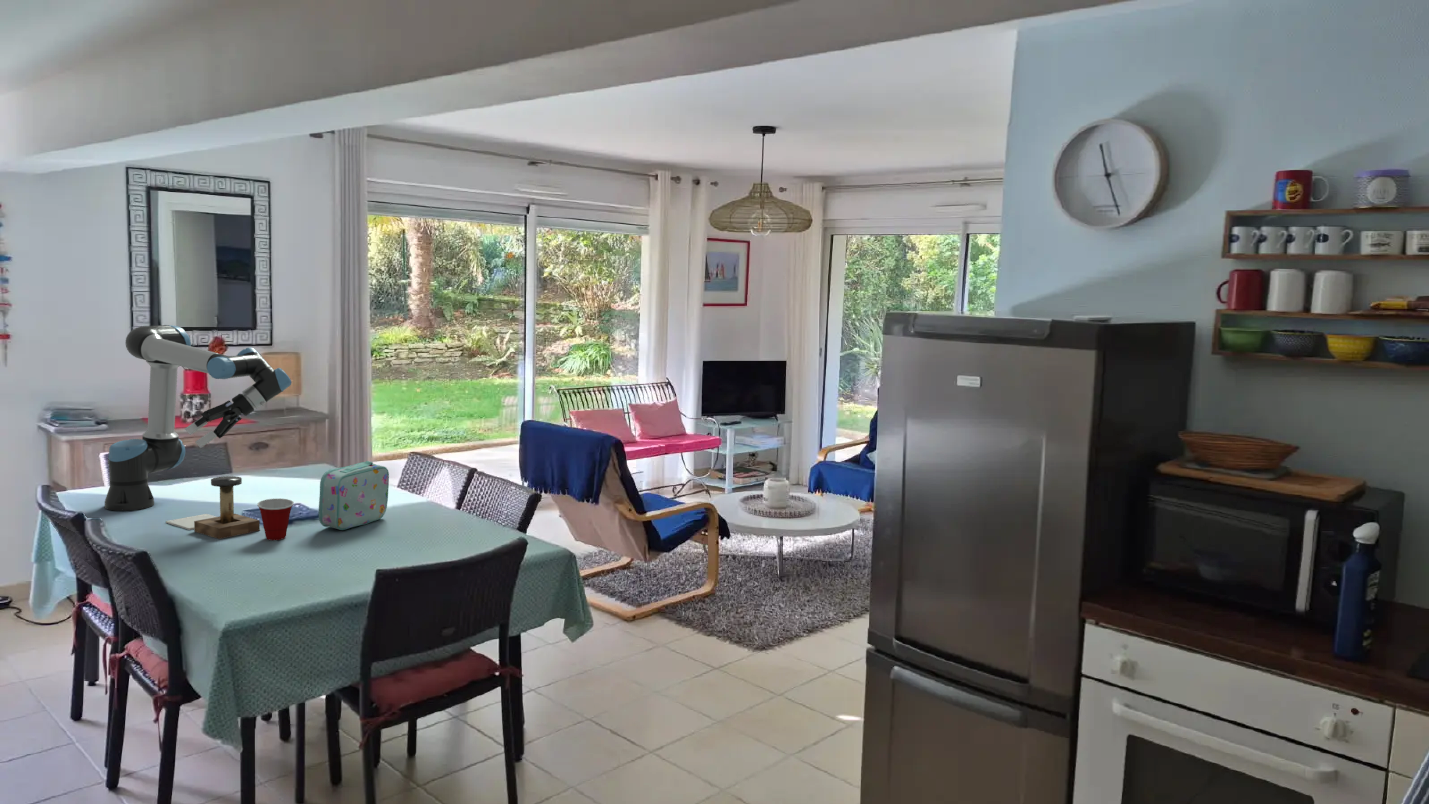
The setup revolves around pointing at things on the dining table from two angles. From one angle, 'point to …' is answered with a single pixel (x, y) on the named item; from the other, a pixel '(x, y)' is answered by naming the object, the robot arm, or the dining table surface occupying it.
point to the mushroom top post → (226, 496)
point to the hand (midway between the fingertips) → (192, 438)
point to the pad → (189, 521)
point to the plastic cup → (275, 517)
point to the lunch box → (353, 495)
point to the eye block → (226, 526)
